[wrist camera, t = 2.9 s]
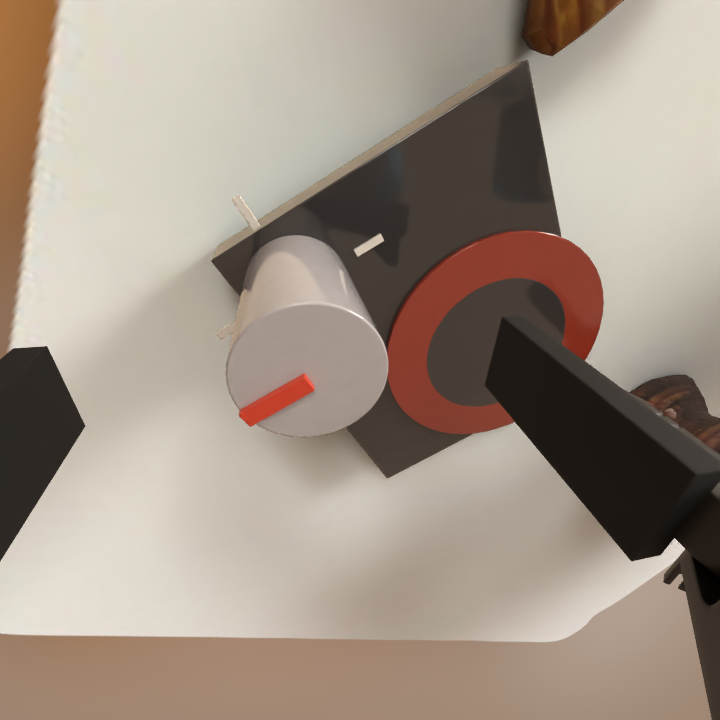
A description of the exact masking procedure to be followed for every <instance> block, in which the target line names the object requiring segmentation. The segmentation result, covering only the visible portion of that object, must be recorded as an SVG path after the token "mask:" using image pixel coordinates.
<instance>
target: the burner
mask: <svg viewBox="0 0 720 720" xmlns="http://www.w3.org/2000/svg"><path fill="white" fill-rule="evenodd" d="M603 304H604V302H603V289H602V284H601V280H600V277H599V274H598V272H597V270H596V267H595V266H594V264H593V263H592V261H591V260H590V258H589V257H588V256H587V255H586V254H585V253H584V252H583V251H582V250H581V249H580V248H579V247H578V246H576V245H575V244H573V243H572V242H570V241H569V240H566V239H564V238H562V237H559V236H557V235H554V234H551V233H546V232H542V231H532V230H519V231H508V232H504V233H499V234H495V235H491V236H488V237H485V238H483V239H480V240H477V241H475V242H473V243H471V244H469V245H467V246H465V247H463V248H461V249H459V250H457V251H456V252H454V253H453V254H451V255H450V256H448V257H447V258H445V259H444V260H442V261H441V262H440V263H439V264H438V265H436V266H435V267H434V268H433V269H432V270H431V271H429V272H428V273H427V274H426V276H425V277H424V278H423V279H422V280H421V281H420V282H419V283H418V284H417V285H416V286H415V288H414V289H413V290H412V292H411V293H410V294H409V296H408V297H407V298H406V300H405V302H404V303H403V305H402V307H401V308H400V310H399V312H398V314H397V316H396V318H395V321H394V323H393V325H392V328H391V331H390V335H389V338H388V342H387V349H386V350H387V355H388V361H389V362H388V376H387V380H388V383H389V386H390V389H391V392H392V394H393V396H394V398H395V400H396V402H397V403H398V405H399V406H400V407H401V408H402V410H403V411H404V412H405V413H406V414H407V415H408V416H409V417H411V418H412V419H413V420H415V421H416V422H418V423H419V424H421V425H423V426H425V427H428V428H430V429H433V430H436V431H440V432H445V433H451V434H471V433H479V432H485V431H489V430H493V429H497V428H500V427H503V426H505V425H508V424H511V423H513V422H515V421H514V420H513V419H512V418H511V416H510V415H509V414H508V413H507V412H506V410H505V409H504V408H503V407H502V406H501V404H500V403H499V402H498V401H497V400H496V398H495V397H494V396H493V395H492V394H491V392H490V391H489V390H488V389H487V388H486V387H485V381H486V378H487V374H488V370H489V366H490V362H491V358H492V354H493V350H494V346H495V342H496V338H497V334H498V330H499V327H500V323H501V319H502V317H509V316H524V317H526V318H527V319H528V320H530V321H531V322H532V323H534V324H535V325H536V326H538V327H539V328H540V329H542V330H543V331H544V332H546V333H547V334H549V335H550V336H551V337H553V338H554V339H555V340H557V341H558V342H559V343H561V344H562V345H563V346H565V347H566V348H568V349H569V350H570V351H572V352H573V353H574V354H576V355H577V356H578V357H580V358H581V359H582V360H584V361H585V359H586V358H587V356H588V355H589V353H590V351H591V349H592V347H593V344H594V342H595V340H596V337H597V334H598V331H599V329H600V324H601V320H602V315H603Z"/></svg>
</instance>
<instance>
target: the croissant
mask: <svg viewBox="0 0 720 720" xmlns="http://www.w3.org/2000/svg"><path fill="white" fill-rule="evenodd" d="M622 1H624V0H528V4H527V10H526V15H525V21H524V26H523V32H522V38H523V39H524V41H525V42H526V44H527V45H528V47H529V48H530V49H532V50H534V51H537V52H539V53H541V54H545V55H549V56H553V55H555V54H556V53H558V52H559V51H560V50H562V49H563V48H565V47H566V46H567V45H569V44H570V43H572V42H573V41H574V40H576V39H577V38H578V37H580V36H581V35H583V34H584V33H585V32H587V31H588V30H589V29H591V28H592V27H593V26H594V25H595V24H596V23H598V22H599V21H600V20H601V19H602V18H603V17H605V16H606V15H607V14H608V13H609V12H611V11H612V10H613V9H614V8H615V7H616V6H618V5H619V4H620V3H621V2H622Z"/></svg>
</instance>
